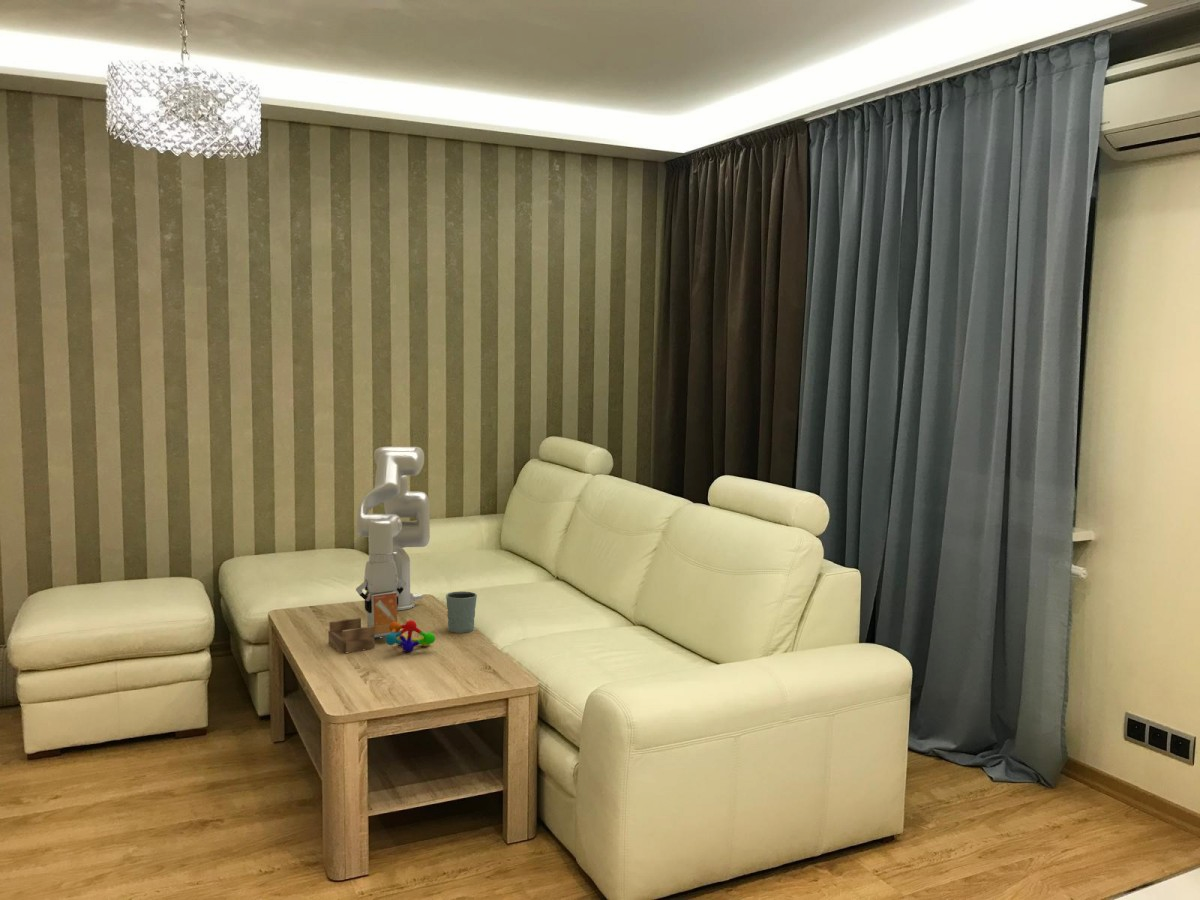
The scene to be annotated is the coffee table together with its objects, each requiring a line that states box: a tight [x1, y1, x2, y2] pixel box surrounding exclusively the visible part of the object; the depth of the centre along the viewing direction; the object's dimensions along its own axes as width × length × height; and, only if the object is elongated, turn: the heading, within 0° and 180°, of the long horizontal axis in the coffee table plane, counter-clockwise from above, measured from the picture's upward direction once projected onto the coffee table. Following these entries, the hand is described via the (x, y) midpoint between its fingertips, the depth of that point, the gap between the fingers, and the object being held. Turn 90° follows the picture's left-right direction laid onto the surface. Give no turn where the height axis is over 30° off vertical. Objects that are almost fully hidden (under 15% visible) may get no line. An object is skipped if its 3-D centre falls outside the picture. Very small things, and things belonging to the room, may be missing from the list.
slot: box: [327, 617, 375, 654], centre depth 326 cm, size 10×13×7 cm
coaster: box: [374, 632, 396, 639], centre depth 340 cm, size 12×12×1 cm
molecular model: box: [385, 619, 436, 653], centre depth 322 cm, size 15×10×15 cm
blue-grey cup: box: [445, 591, 478, 634], centre depth 346 cm, size 10×10×12 cm
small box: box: [366, 591, 398, 635], centre depth 332 cm, size 8×6×13 cm
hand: (381, 609), depth 332 cm, fingers closed on small box, 8 cm apart
